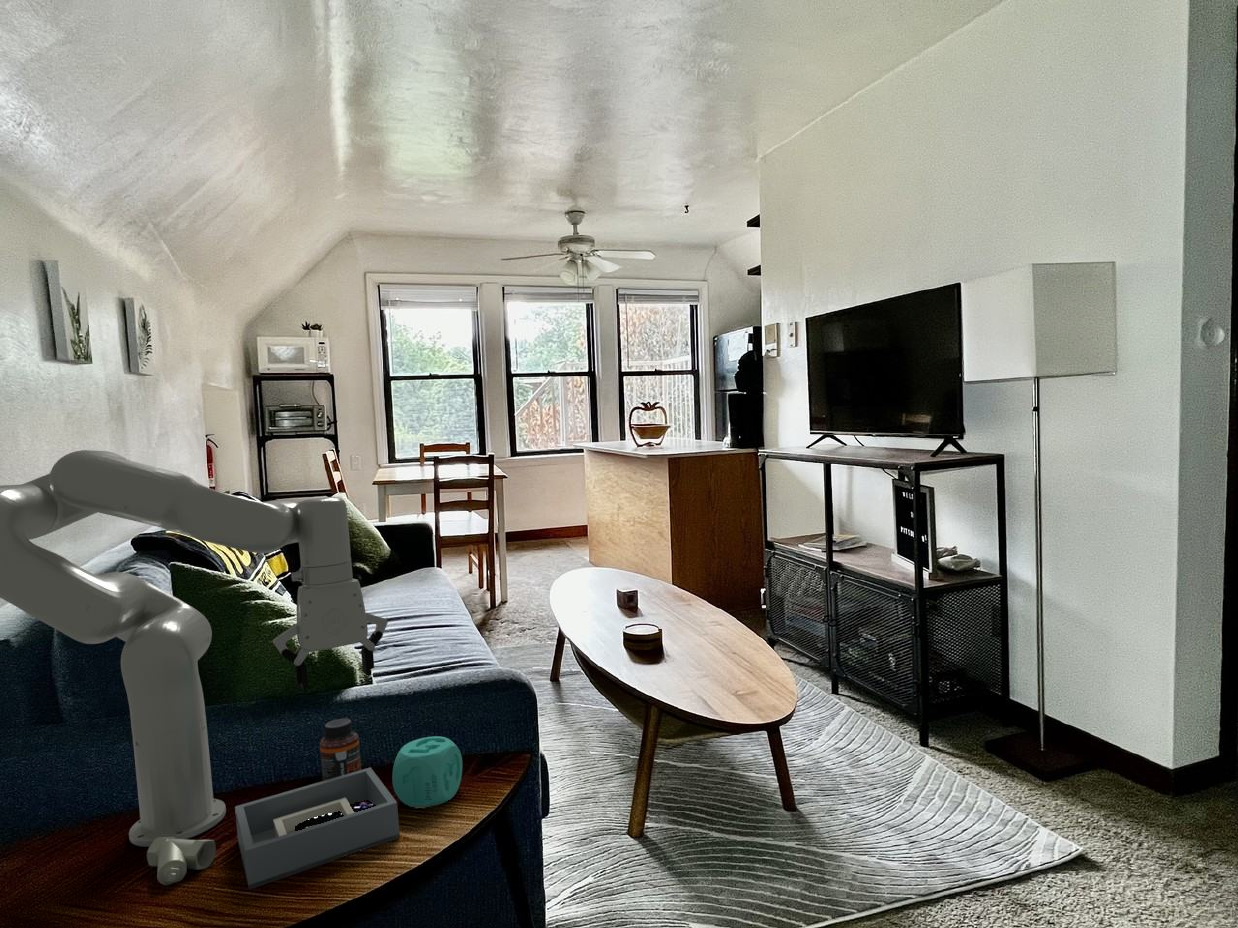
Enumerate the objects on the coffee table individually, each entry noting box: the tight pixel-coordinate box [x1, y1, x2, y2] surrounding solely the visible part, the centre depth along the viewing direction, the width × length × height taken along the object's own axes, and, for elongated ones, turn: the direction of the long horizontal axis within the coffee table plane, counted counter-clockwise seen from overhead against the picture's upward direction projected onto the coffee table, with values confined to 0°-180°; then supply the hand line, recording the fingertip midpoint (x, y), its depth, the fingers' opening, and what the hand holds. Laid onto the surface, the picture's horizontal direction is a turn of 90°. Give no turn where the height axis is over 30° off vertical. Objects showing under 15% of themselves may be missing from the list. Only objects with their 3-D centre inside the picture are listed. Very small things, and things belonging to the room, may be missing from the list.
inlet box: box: [234, 766, 401, 891], centre depth 104 cm, size 15×19×5 cm
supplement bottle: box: [319, 718, 362, 781], centre depth 119 cm, size 6×6×11 cm
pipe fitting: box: [146, 837, 217, 886], centre depth 99 cm, size 8×4×7 cm
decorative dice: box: [391, 735, 463, 808], centre depth 115 cm, size 8×8×8 cm
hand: (336, 680), depth 118 cm, fingers open, 9 cm apart
